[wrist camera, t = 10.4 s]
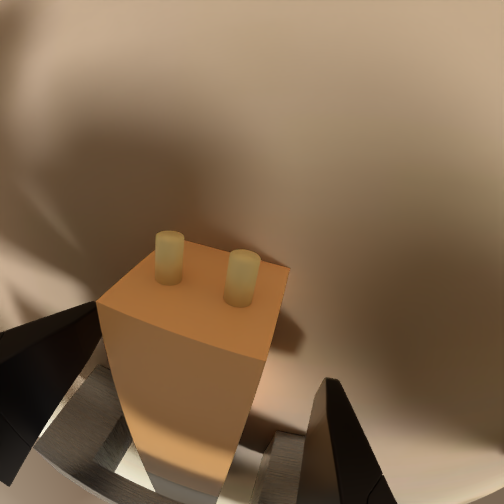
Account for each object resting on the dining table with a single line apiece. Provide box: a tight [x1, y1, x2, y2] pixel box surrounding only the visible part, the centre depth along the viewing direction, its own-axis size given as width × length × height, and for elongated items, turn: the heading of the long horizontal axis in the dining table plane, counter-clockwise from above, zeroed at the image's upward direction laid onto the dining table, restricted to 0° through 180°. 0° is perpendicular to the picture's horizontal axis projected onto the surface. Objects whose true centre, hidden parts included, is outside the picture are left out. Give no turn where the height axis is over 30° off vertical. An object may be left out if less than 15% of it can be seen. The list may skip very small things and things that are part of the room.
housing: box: [33, 364, 305, 504], centre depth 9 cm, size 3×11×6 cm, turn 80°
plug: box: [96, 231, 290, 504], centre depth 10 cm, size 17×3×3 cm, turn 170°
